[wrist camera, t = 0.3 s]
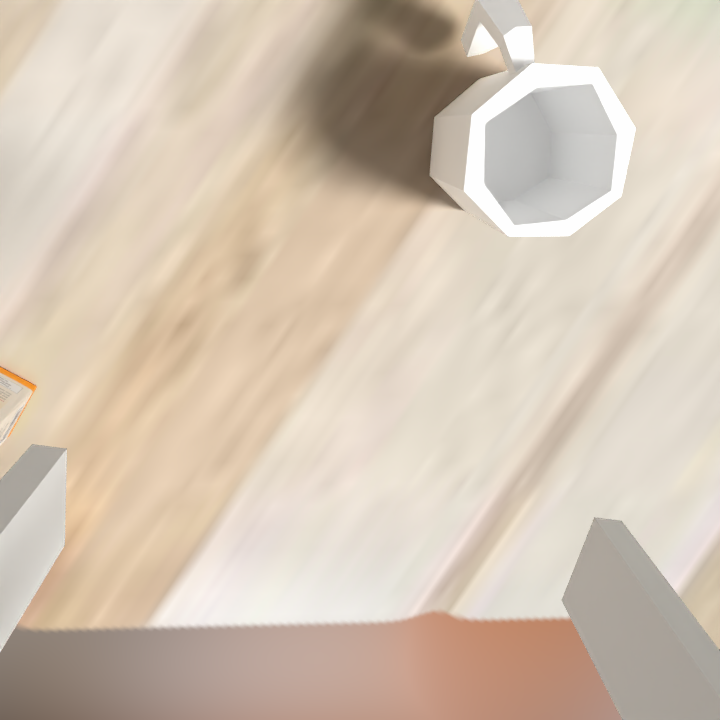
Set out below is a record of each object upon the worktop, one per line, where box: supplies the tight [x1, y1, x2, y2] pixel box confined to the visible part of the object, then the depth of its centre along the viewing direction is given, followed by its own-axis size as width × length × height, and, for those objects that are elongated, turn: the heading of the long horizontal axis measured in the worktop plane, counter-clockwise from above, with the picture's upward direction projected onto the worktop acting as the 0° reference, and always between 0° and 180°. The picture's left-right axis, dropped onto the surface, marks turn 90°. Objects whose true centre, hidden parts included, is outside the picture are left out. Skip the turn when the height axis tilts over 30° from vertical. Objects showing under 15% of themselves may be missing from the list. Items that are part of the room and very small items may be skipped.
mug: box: [429, 0, 636, 237], centre depth 33 cm, size 12×9×10 cm
